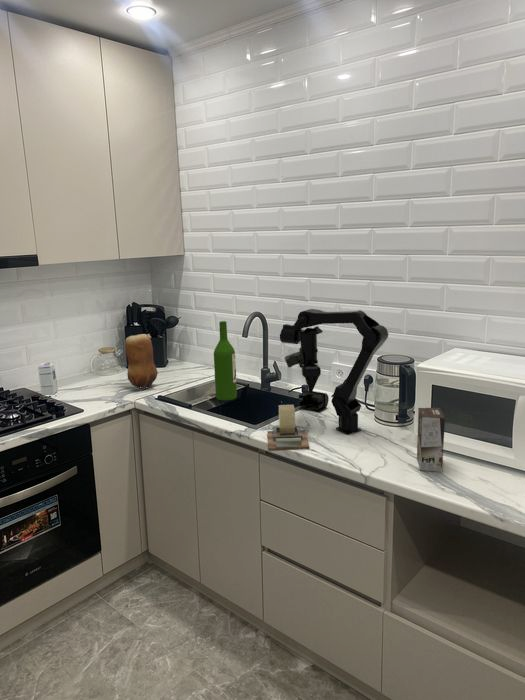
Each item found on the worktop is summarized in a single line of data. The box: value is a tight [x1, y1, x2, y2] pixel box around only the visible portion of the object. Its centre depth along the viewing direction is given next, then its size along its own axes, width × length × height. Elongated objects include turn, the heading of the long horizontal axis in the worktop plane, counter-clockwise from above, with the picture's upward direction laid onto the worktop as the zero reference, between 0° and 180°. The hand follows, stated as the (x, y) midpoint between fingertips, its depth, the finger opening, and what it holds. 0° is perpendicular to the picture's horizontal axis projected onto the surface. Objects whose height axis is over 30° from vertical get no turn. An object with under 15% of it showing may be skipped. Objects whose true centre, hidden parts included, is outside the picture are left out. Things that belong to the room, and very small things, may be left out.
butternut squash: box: [124, 333, 159, 389], centre depth 241 cm, size 14×13×25 cm
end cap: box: [298, 389, 329, 414], centre depth 207 cm, size 10×7×7 cm
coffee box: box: [416, 407, 446, 472], centre depth 153 cm, size 9×6×16 cm
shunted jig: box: [267, 425, 310, 451], centre depth 176 cm, size 15×13×3 cm
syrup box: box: [37, 362, 59, 396], centre depth 235 cm, size 6×6×14 cm
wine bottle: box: [213, 320, 238, 402], centre depth 222 cm, size 9×9×32 cm
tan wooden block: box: [278, 404, 296, 436], centre depth 177 cm, size 5×5×10 cm
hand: (309, 388), depth 189 cm, fingers open, 9 cm apart
